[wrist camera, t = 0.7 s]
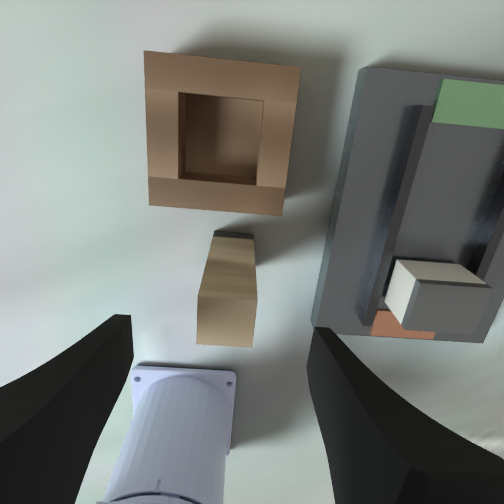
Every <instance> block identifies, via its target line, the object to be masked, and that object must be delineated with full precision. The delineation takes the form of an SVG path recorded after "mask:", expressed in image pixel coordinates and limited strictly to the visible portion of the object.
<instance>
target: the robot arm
mask: <svg viewBox="0 0 504 504" xmlns="http://www.w3.org/2000/svg"><path fill="white" fill-rule="evenodd" d="M133 358H134V353H133V338H132V324H131V315H120V314H115V315H113V316H112V317H110V318H109V319H108V320H106V321H105V322H104V323H102V324H101V325H100V326H98V327H97V328H96V329H94V330H93V331H92V332H90V333H89V334H87V335H86V336H85V337H83V338H82V339H81V340H79V341H78V342H76V343H75V344H74V345H72V346H71V347H69V348H68V349H66V350H65V351H63V352H62V353H60V354H59V355H57V356H56V357H54V358H53V359H51V360H50V361H48V362H46V363H45V364H43V365H41V366H40V367H38V368H36V369H35V370H33V371H31V372H29V373H27V374H26V375H24V376H22V377H20V378H18V379H16V380H14V381H12V382H10V383H8V384H6V385H4V386H2V387H0V504H75V501H76V498H77V495H78V492H79V490H80V487H81V484H82V481H83V478H84V475H85V473H86V470H87V467H88V464H89V462H90V459H91V456H92V453H93V451H94V448H95V446H96V444H97V441H98V439H99V437H100V435H101V432H102V430H103V428H104V426H105V424H106V422H107V420H108V418H109V416H110V414H111V412H112V410H113V408H114V405H115V403H116V401H117V399H118V397H119V395H120V393H121V391H122V389H123V386H124V384H125V382H126V379H127V377H128V374H129V371H130V368H131V364H132V361H133ZM307 373H308V381H309V388H310V393H311V397H312V400H313V404H314V408H315V412H316V415H317V419H318V423H319V426H320V430H321V434H322V437H323V441H324V444H325V449H326V453H327V457H328V463H329V468H330V474H331V480H332V486H333V492H334V498H335V504H504V460H503V459H502V458H501V457H499V456H497V455H495V454H493V453H491V452H489V451H488V450H486V449H484V448H482V447H480V446H478V445H476V444H474V443H472V442H470V441H468V440H466V439H465V438H463V437H461V436H459V435H458V434H456V433H454V432H453V431H451V430H449V429H448V428H446V427H444V426H443V425H441V424H440V423H438V422H436V421H435V420H433V419H432V418H430V417H429V416H427V415H426V414H424V413H423V412H421V411H420V410H419V409H417V408H416V407H414V406H413V405H411V404H410V403H409V402H407V401H406V400H405V399H403V398H402V397H401V396H400V395H398V394H397V393H396V392H395V391H393V390H392V389H391V388H390V387H388V386H387V385H386V384H385V383H384V382H383V381H381V380H380V379H379V378H378V377H377V376H376V375H375V374H374V373H373V372H372V371H371V370H370V369H368V368H367V367H366V366H365V365H364V364H363V363H362V362H361V361H360V360H359V359H358V358H357V356H356V355H355V354H354V353H353V352H352V351H351V350H350V349H349V348H348V347H347V346H346V345H345V344H344V343H343V341H342V340H341V339H340V338H339V337H338V336H337V335H336V334H335V333H334V332H333V330H332V329H331V328H330V327H314V332H313V337H312V342H311V347H310V352H309V357H308V362H307ZM137 377H140V378H137ZM228 382H231V383H228ZM131 384H132V398H133V411H134V415H133V418H132V420H131V423H130V426H129V429H128V431H127V434H126V437H125V439H124V442H123V445H122V448H121V450H120V453H119V456H118V459H117V461H116V464H115V467H114V469H113V472H112V475H111V478H110V480H109V483H108V486H107V488H106V491H105V494H104V497H103V499H102V502H100V501H98V502H96V504H223V496H224V479H225V461H226V457H227V456H228V455H229V452H230V442H231V431H232V420H233V410H234V399H235V388H236V374H235V373H234V372H233V371H221V370H204V369H186V368H169V367H151V366H135V367H133V368H132V371H131Z"/></svg>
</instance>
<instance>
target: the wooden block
mask: <svg viewBox="0 0 504 504" xmlns="http://www.w3.org/2000/svg"><path fill="white" fill-rule="evenodd" d="M256 309H257V284H256V268H255V252H254V235H253V234H249V233H236V232H223V231H214V235H213V239H212V243H211V246H210V250H209V254H208V258H207V262H206V266H205V270H204V274H203V278H202V282H201V286H200V289H199V293H198V307H197V342H196V344H201V345H218V346H234V347H251V348H252V344H253V336H254V327H255V318H256Z"/></svg>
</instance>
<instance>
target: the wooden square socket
mask: <svg viewBox="0 0 504 504" xmlns="http://www.w3.org/2000/svg"><path fill="white" fill-rule="evenodd" d="M144 73H145V101H146V130H147V158H148V187H149V205H153V206H165V207H177V208H189V209H202V210H214V211H226V212H238V213H251V214H263V215H275V216H282V210H283V203H284V195H285V188H286V180H287V172H288V165H289V157H290V150H291V142H292V134H293V127H294V119H295V111H296V104H297V96H298V89H299V81H300V73H301V67H295V66H286V65H276V64H267V63H258V62H248V61H239V60H229V59H220V58H210V57H201V56H191V55H182V54H173V53H163V52H154V51H144Z"/></svg>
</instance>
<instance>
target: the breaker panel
mask: <svg viewBox="0 0 504 504" xmlns="http://www.w3.org/2000/svg"><path fill="white" fill-rule="evenodd" d="M397 259H398V260H411V261H424V262H437V263H450V264H460V265H462V266H463V267H464V268H466V269H467V270H468V271H470V272H471V273H473V274H474V275H475V276H477V277H478V278H479V279H481V280H482V281H484V282H485V283H486V284H488V285H489V286H490V287H492V288H493V291H492V293H491V295H490V298H489V300H488V302H487V304H486V307H485V309H484V311H483V314H482V316H481V318H480V320H479V323H478V325H477V327H476V330H475V332H474V334H457V333H442V332H426V331H411V330H404V328H403V327H402V325H401V324H400V323H399V321H398V320H397V318H396V317H395V316H394V314H393V313H392V311H391V310H390V309H389V307H388V306H387V304H386V303H385V302H384V301H385V297H386V294H387V291H388V287H389V284H390V280H391V277H392V273H393V270H394V267H395V263H396V260H397ZM503 299H504V81H499V80H489V79H480V78H471V77H461V76H452V75H443V74H433V73H424V72H415V71H405V70H396V69H387V68H377V67H366V68H363V69H360V70H359V72H358V77H357V82H356V87H355V93H354V98H353V103H352V108H351V113H350V119H349V124H348V129H347V134H346V139H345V144H344V150H343V155H342V160H341V165H340V170H339V176H338V181H337V186H336V191H335V196H334V201H333V207H332V212H331V217H330V222H329V227H328V233H327V238H326V243H325V248H324V253H323V258H322V264H321V269H320V274H319V279H318V284H317V290H316V295H315V300H314V305H313V310H312V316H311V322H312V326H313V329H314V327H330V328H331V329H332V330H333V332H334V333H335V334H344V335H360V336H376V337H392V338H407V339H423V340H439V341H454V342H470V343H483V342H484V340H485V338H486V336H487V334H488V331H489V329H490V327H491V325H492V323H493V320H494V318H495V316H496V314H497V312H498V309H499V307H500V305H501V303H502V301H503Z"/></svg>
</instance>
